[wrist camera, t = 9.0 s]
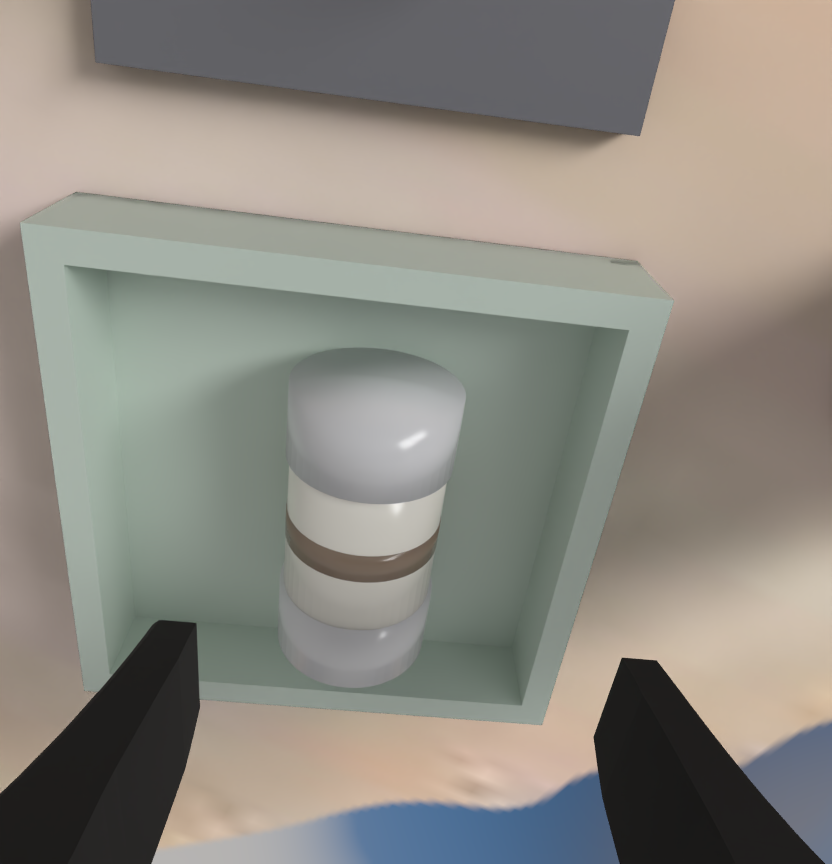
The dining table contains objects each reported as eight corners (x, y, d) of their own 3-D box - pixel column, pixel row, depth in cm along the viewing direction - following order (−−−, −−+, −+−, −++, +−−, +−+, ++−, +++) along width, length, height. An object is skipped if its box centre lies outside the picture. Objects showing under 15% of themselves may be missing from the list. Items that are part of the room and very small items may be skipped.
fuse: (427, 345, 20) (495, 420, 17) (394, 572, 24) (444, 670, 21) (272, 350, 18) (313, 434, 15) (264, 592, 22) (296, 702, 19)
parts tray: (637, 260, 19) (674, 300, 16) (528, 653, 26) (542, 725, 23) (76, 192, 18) (20, 222, 15) (118, 619, 25) (83, 690, 22)
